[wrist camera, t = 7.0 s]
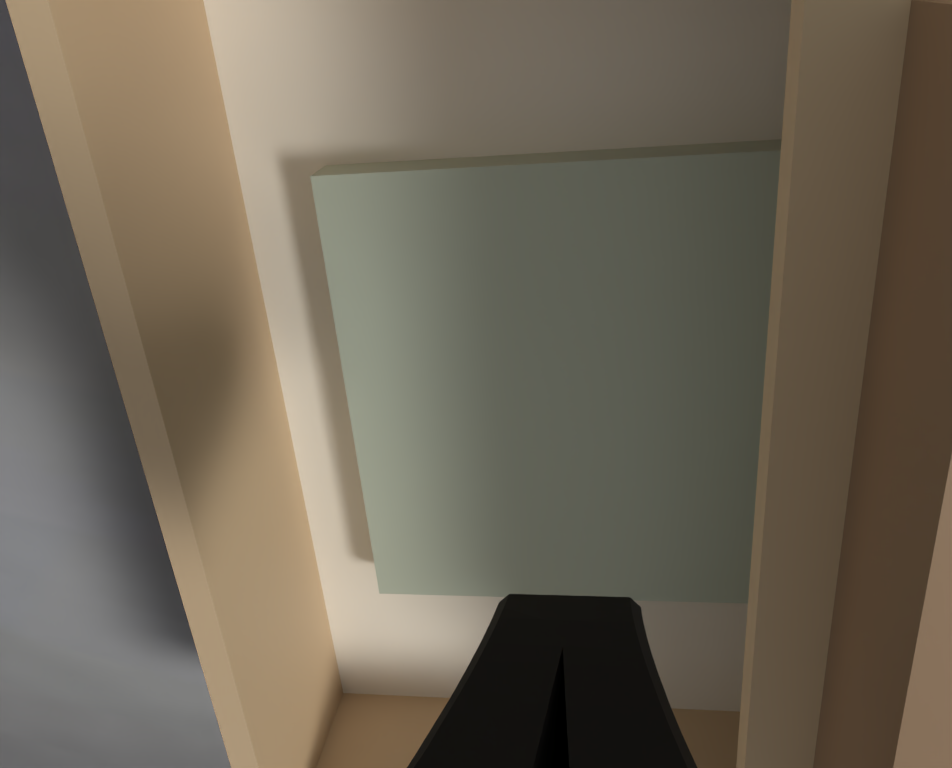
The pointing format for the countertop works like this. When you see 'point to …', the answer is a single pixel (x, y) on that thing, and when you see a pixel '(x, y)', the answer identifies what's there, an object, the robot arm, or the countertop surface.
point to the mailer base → (428, 330)
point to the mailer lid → (857, 402)
